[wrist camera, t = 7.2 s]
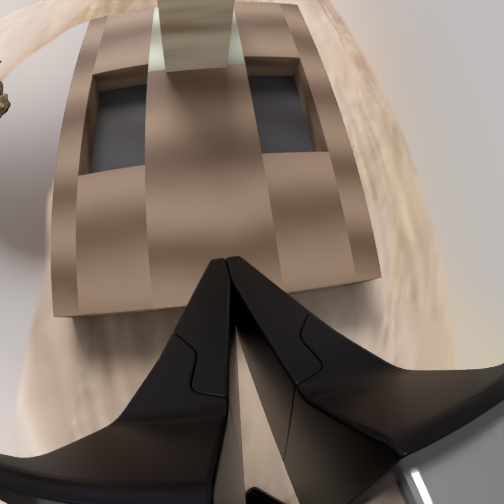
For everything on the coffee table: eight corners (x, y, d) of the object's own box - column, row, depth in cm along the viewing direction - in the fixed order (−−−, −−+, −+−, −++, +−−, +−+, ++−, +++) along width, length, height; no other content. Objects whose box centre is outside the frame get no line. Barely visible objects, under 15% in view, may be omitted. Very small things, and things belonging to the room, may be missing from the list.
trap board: (362, 282, 23) (381, 277, 20) (72, 317, 20) (53, 316, 17) (291, 23, 29) (297, 4, 26) (96, 38, 25) (90, 20, 22)
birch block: (227, 67, 22) (236, -10, 15) (165, 72, 22) (157, -5, 14) (218, 6, 24) (224, -57, 17) (168, 9, 24) (165, -53, 16)
